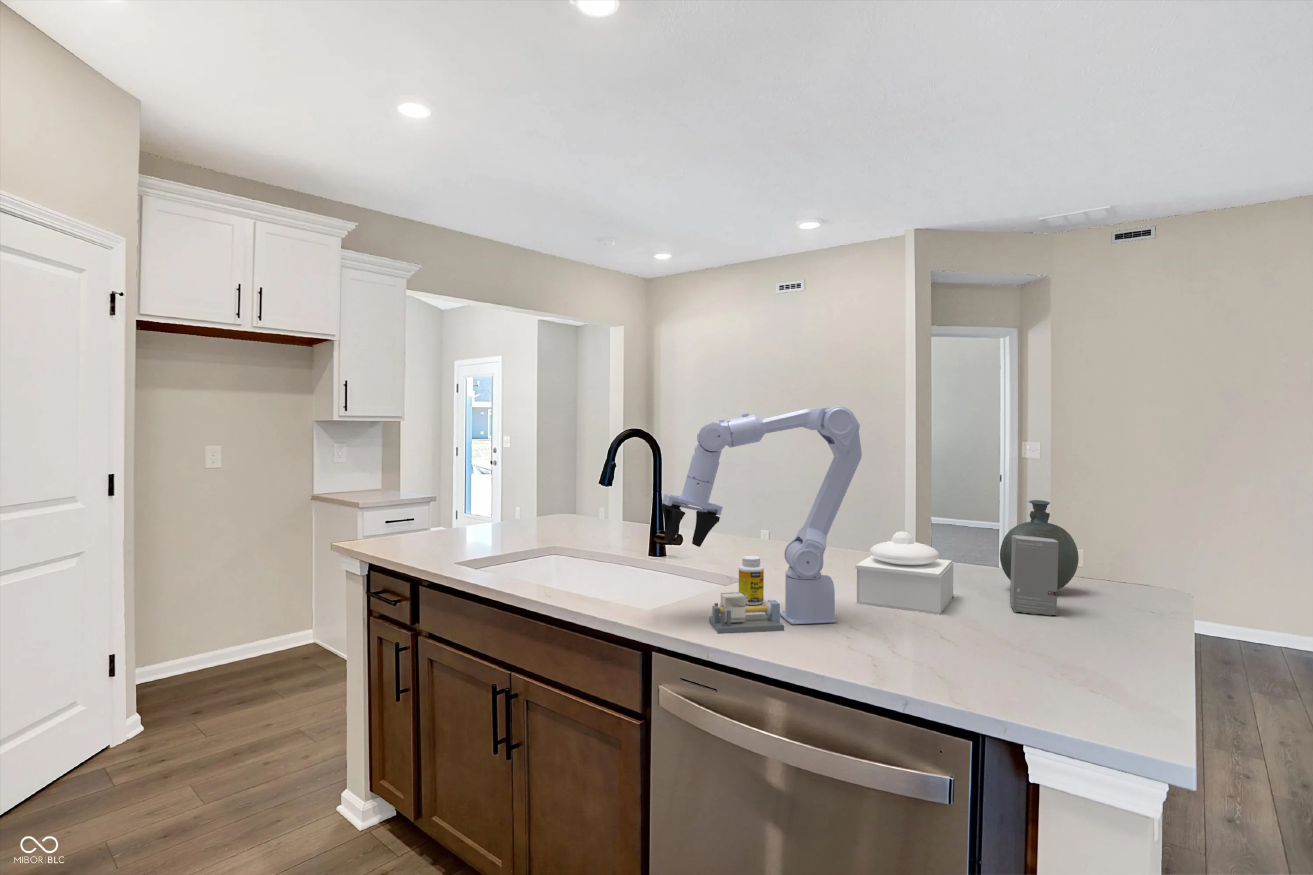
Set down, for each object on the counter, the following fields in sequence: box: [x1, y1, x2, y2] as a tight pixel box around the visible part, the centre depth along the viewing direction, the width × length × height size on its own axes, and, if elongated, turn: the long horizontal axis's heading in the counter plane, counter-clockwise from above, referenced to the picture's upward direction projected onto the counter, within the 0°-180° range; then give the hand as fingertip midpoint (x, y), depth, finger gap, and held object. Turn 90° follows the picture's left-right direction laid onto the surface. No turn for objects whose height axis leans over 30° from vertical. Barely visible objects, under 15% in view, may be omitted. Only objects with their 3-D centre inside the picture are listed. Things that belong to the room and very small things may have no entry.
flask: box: [999, 499, 1079, 591], centre depth 157 cm, size 12×17×22 cm
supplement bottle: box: [738, 555, 765, 606], centre depth 147 cm, size 6×6×10 cm
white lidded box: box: [854, 530, 954, 616], centre depth 149 cm, size 18×18×16 cm
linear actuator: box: [708, 599, 785, 634], centre depth 129 cm, size 13×8×4 cm, turn 98°
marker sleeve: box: [720, 591, 746, 622], centre depth 129 cm, size 4×4×5 cm
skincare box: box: [1009, 535, 1059, 616], centre depth 140 cm, size 8×7×16 cm
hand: (682, 543), depth 135 cm, fingers open, 7 cm apart
